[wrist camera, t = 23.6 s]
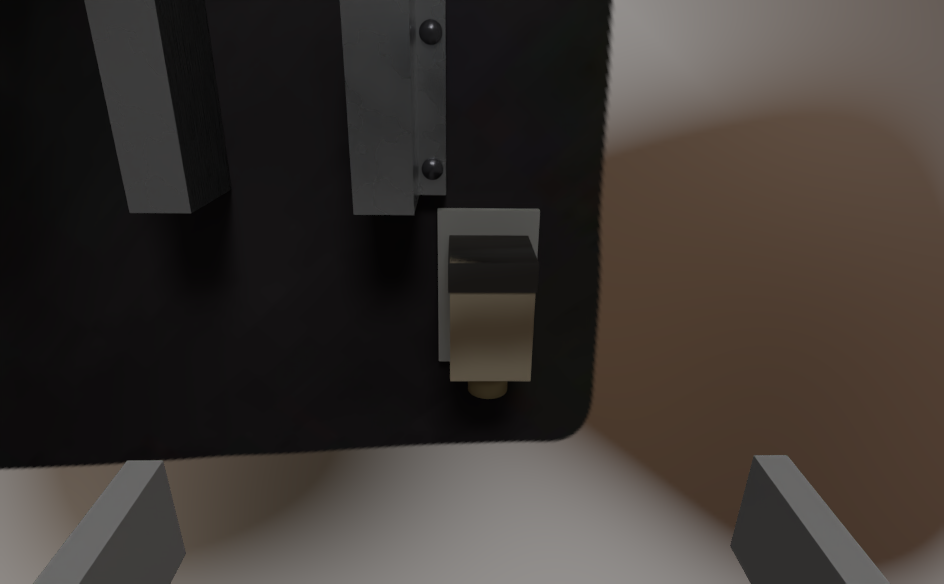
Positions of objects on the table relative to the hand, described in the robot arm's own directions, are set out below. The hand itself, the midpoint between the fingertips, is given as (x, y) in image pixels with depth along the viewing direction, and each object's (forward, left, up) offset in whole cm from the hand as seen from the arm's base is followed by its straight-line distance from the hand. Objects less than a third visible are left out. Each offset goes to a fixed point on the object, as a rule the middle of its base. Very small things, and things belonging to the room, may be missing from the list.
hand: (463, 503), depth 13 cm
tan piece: (+4, +2, -23) cm, 23 cm away
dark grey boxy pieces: (-7, -9, -24) cm, 26 cm away
